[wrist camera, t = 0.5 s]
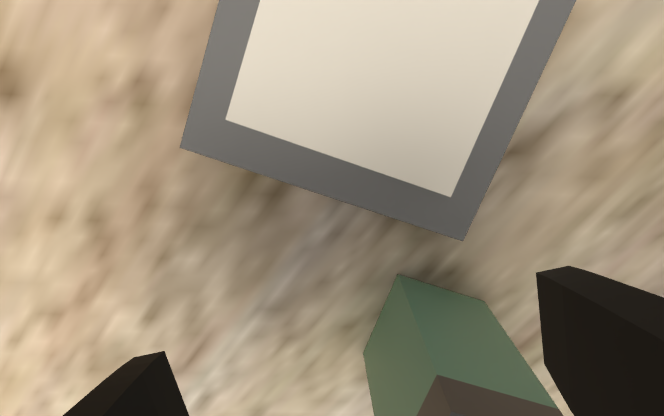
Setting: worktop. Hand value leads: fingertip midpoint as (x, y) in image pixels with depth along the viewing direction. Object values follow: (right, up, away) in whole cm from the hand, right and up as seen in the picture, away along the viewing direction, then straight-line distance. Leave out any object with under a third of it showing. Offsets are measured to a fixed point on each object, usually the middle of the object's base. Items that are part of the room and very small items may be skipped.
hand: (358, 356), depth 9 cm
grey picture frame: (+1, +9, +8) cm, 12 cm away
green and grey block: (+3, -2, +12) cm, 12 cm away
